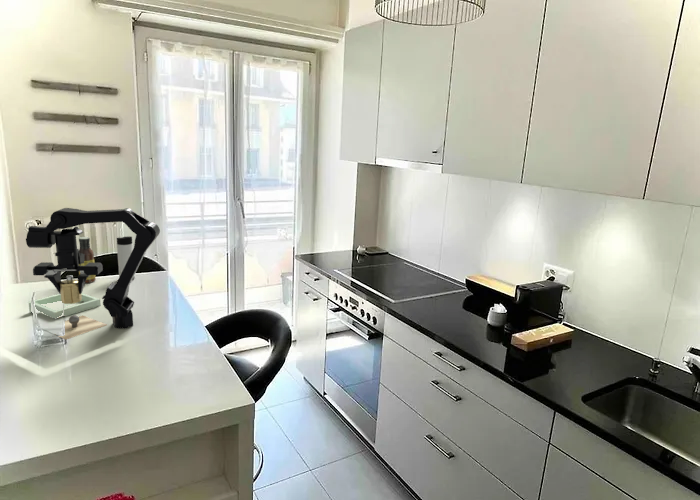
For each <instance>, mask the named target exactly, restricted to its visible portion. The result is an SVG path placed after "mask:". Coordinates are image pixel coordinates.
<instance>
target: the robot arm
mask: <svg viewBox="0 0 700 500" xmlns="http://www.w3.org/2000/svg"><path fill="white" fill-rule="evenodd" d="M49 219H50V221H48V223H47V225H46V226H36V225H31V226H29V227H28V231H27V233H26V238H25V243H26V245H27V247H28V248H30V249H31V248H33V249H36V248H37V249H50V248H52V247H53V245H55V249H56V252H54V253H55V255H54V256H55V257H56V260H57V265H55V264H54V262H52V261H51V262H45V261H44V262H43V261H42V262H39V263H37V264H36V265H34V266H33V269H32V274H33V276H43V277H44V279H46V278H47V279H48V280H49V281H50V283H51V284H52V285H53V287H55V289H56V290H57V292H58V293H59V294H61V292H60V282H61V281H62V272H63V273H64V272H79V271H80V275H79V274H78V275H77V279H78V289H79V293H80V294H81V293H83V290H84V287H85V284H86V283H85V281H86V279H87V277H89V276H90V275H97V276H98V275H99V274H101V272H103V271H104V270H103V269H104V268H103V266H104V265H103V264H102V263H101V262H95V263H88V264H87V265H85V266H79V264H82V263H84V255H85V254H82V253H79V249H80V248H78V243H77V236H80V235H82V234H83V233H84V231H83V230H82V229H80V228H79V227H78V226H80V225H85V224H101V223H102V224H103V223H106V224H107V223H124V224H125V226H127V227H128V229H129V230H131V232H132V233H134V234H135V239H134V244H133V251H132V253H131V255H130V257H129V259H128V261H127V263H126V265H125V267H124V269H123V271H122V273H121V275H120V277H119V276H118V280H117V281H116V283H115V282H111V283H110V285H109V286H107V288H106V290H105V294H104V295H103V296H102V297H101V299H102V306H103V307H104V309H105V310H107V311H108V313H109V315H110V317H112V325H113V328H115V329H129V328H131V327H134V314H133V312H132V308H134V305H135V300H133V299H131V298H130V297H129V296H128V295H129V290H130V285H131V282H132V281H133V280H134V279H133V277H134V276H135V275H136V272H137V271H138V269H139V266H140V265H141V263H142V261H143V258H144V256H145V254H146V252H147V251H148V249H149V248H150V246H151V245H153V243H154V241H155V240H156V239H157V237H158V236H159V235H160V232H161V230H160V227H159V225H158V224H157V223H155V222H152V221H150V220H148V219H147V218H145V217H143V215H141V214H138V213H136V212H135V211H134V210H133V209H131V208H129V207H127V208H122V209H118V208H117V209H101V210H99V209H98V210H97V209H96V210H95V209H94V210H83V209H78V208H73V207H64V208H61V209H59V210H56V211H54V212H53V213H52V214H51V215H50V218H49ZM57 230H58V231H57ZM132 279H133V280H132Z"/></svg>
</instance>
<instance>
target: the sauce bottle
mask: <svg viewBox="0 0 700 500" xmlns="http://www.w3.org/2000/svg"><path fill="white" fill-rule="evenodd" d="M90 242H91V239H90V237H89V236H80V237H79V238H78V243H79V248H78V249H79V253H82V254H85V255H84V263H82V264H79V266H85V265H87V264H88V263H96V261H95V254H94V251H93V249H92V248H91V243H90ZM78 275H80V271H78ZM96 277H97V276H96V275H90V276H89V277H87V279H86V281H85V284H86V283H87V284H88V283H93V282H95V281H96Z"/></svg>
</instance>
